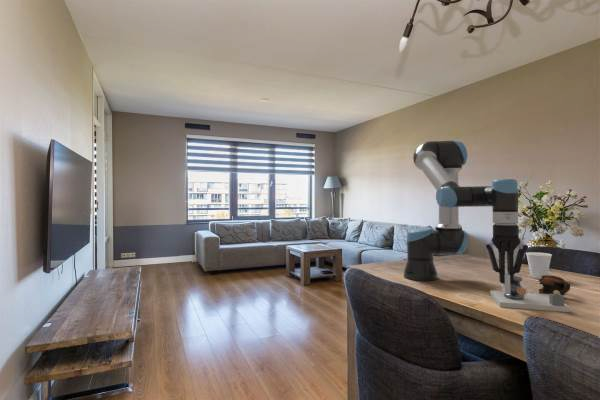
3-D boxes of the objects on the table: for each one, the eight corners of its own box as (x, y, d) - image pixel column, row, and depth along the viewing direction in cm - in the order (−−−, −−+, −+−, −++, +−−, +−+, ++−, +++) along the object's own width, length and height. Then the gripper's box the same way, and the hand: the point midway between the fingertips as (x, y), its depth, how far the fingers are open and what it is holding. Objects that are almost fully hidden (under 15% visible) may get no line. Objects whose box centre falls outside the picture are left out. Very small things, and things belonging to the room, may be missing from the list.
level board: (500, 306, 113) (499, 288, 113) (490, 294, 127) (490, 278, 127) (570, 312, 107) (570, 292, 107) (551, 298, 121) (551, 281, 121)
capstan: (501, 293, 123) (501, 275, 123) (520, 294, 121) (519, 275, 121) (512, 304, 110) (512, 284, 110) (533, 306, 108) (533, 285, 108)
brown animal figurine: (530, 293, 129) (533, 274, 132) (549, 303, 130) (552, 283, 133) (559, 294, 118) (562, 272, 121) (581, 304, 119) (583, 282, 122)
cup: (543, 275, 157) (543, 252, 157) (557, 280, 147) (557, 255, 147) (521, 275, 158) (521, 252, 157) (534, 280, 148) (533, 255, 148)
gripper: (487, 224, 111) (488, 294, 111) (531, 225, 107) (532, 297, 107) (481, 223, 118) (482, 288, 118) (523, 223, 114) (524, 291, 114)
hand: (506, 292), depth 112 cm, fingers closed
